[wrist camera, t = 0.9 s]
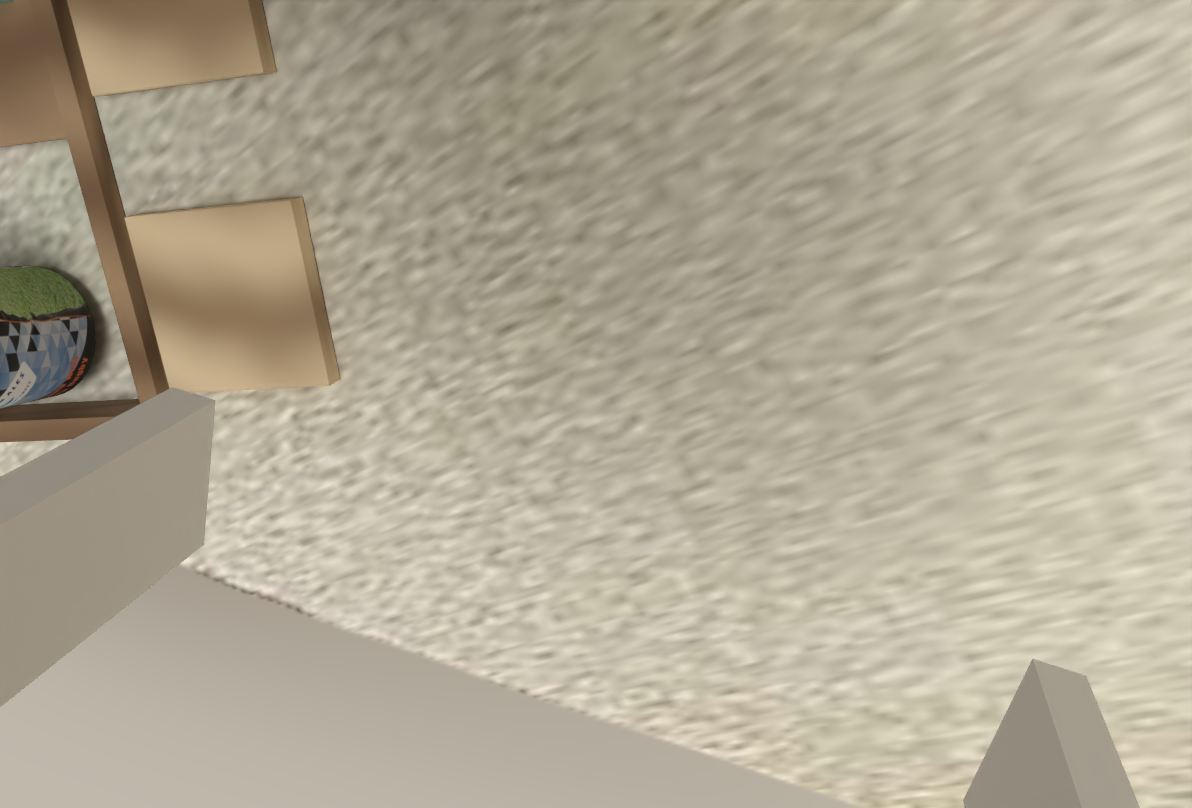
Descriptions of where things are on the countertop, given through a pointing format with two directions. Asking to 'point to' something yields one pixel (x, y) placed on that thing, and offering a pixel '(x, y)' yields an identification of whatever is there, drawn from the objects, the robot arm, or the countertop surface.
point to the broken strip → (213, 211)
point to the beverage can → (41, 335)
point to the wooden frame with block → (67, 110)
